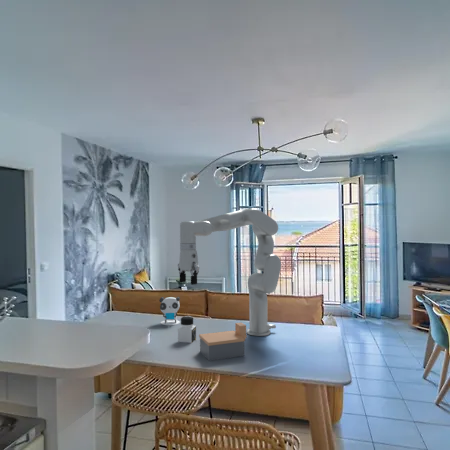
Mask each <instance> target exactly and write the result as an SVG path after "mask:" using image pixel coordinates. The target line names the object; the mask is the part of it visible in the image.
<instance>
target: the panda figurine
mask: <svg viewBox="0 0 450 450" xmlns="http://www.w3.org/2000/svg"><path fill="white" fill-rule="evenodd" d="M180 299H181V298H180V296H176V297H173V296H170V297H163V296H162V297H160V298H159V299H158V300H159V303H160V305H159V309H160V311H161V312H162V317H163V318H164V320H162V321H160V325H162V326H163V325H164V326H176V325H180V324H181V320H178V318H177V317H178V311H179V309H180V304H181V303H180Z"/></svg>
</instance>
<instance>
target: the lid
mask: <svg viewBox="0 0 450 450" xmlns="http://www.w3.org/2000/svg"><path fill="white" fill-rule="evenodd" d="M234 327H235V330H227V331H226V330H225V331H218V332H209V333H200V334H199V335H198V337H199V339H200V338H201V339H202V340H203V341H204V342H205V343H206V344H207V345H208V346H211V345H219V344H226V343H234V342H242V341H244V342H245V341H246V339H247V336H248V334H247V325H246V324H245V323H243V322H241V321H240V322H235V325H234Z"/></svg>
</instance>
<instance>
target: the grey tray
mask: <svg viewBox="0 0 450 450" xmlns="http://www.w3.org/2000/svg"><path fill="white" fill-rule="evenodd" d="M199 352H200V354H202V355H203V356H204V357H205V358H206V359H207V361H208V362H211V361H217V360H222V359H223V360H224V359H231V358H237V357H238V358H239V357H244V356H245V341H242V342H234V343H226V344H219V345H211V346H208V345H207V344H206V343H205V342H204V341H203V340H202V339H201V338H200V337H199Z"/></svg>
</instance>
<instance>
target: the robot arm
mask: <svg viewBox="0 0 450 450" xmlns="http://www.w3.org/2000/svg"><path fill="white" fill-rule="evenodd" d="M250 225H251V229H252V232H253V233H254V235H255V236H256V238H257V249H256V254H255V258H254V268H255V269H256V270H258V271H261V272H263V273H261V272H254V273H252V274H250V275H249V277H248V279H247V288H248V294H249V295H248V296H249V297H248V298H249V306H248V307H249V319H248V320H249V327H248V328H246V335H250V336H253V337H265V336H269V335H270V334H271V329H276V328H277V326H276V324H271V323H270V324H269V323H268V295H267V294H272V293H274V292H275V290H276V288H277V287H278V283H279V278H280V273H281V269H282V261H281V258H280V256H279V255H277V254H274V248H275V241H274V238H273V236H274V235H276V234H277V232H278V231H279V225H278V223H277V221H276V220H275V219H273V218H272V217H271V216H269V215H267V214H266V213H265V212H263V211H262V210H260V209H258V208H255V207H252V208H245V209H244V208H243V209H240V210H235V211H231V212H228V213H223V214H219V215H216V216H213V217H207V218H203V219H201V220H200V219H199V220H196V221H189V220H188V221H187V220H183V221H181V222H180V223H179V250H180V251H179V263H177V270H178V273H179V283H186V282H187V274H186V272H189V273H190V275H191V276H190V285H192V286H193V285H197V284H198V275H199V272H200V271H199V270H200V266H199V257H198V250H197V237H208V236H210V235H212V233H214V232H225V231H230V230H235V229H238V228H241V227H245V226H250Z"/></svg>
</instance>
